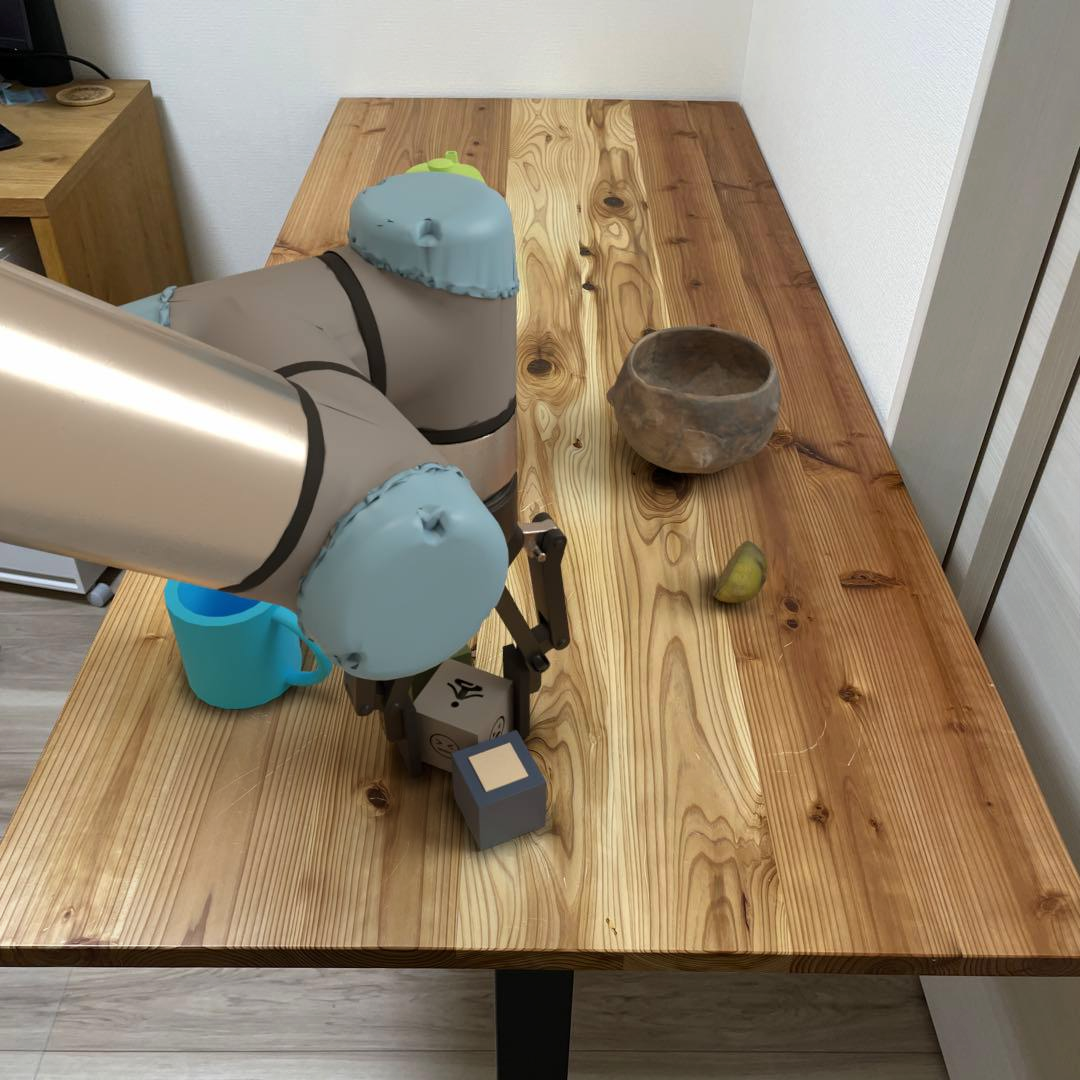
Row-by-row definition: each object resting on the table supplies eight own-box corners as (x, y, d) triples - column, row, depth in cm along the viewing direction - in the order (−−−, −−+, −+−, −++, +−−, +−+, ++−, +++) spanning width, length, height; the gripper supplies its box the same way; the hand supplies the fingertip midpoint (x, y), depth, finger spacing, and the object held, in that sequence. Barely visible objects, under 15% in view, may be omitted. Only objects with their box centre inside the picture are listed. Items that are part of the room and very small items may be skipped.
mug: (164, 686, 76) (137, 603, 71) (234, 614, 82) (215, 532, 77) (304, 743, 73) (287, 660, 67) (368, 663, 78) (357, 581, 73)
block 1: (414, 715, 75) (409, 670, 72) (392, 672, 78) (387, 627, 75) (473, 695, 76) (472, 650, 73) (450, 653, 79) (447, 608, 76)
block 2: (480, 851, 66) (478, 807, 63) (453, 796, 69) (450, 751, 66) (545, 825, 68) (547, 781, 65) (516, 773, 71) (516, 728, 68)
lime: (717, 619, 82) (726, 571, 79) (697, 577, 86) (704, 530, 83) (772, 611, 83) (782, 563, 80) (750, 570, 87) (759, 522, 83)
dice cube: (514, 730, 74) (513, 681, 70) (480, 784, 70) (478, 735, 67) (450, 706, 75) (446, 657, 72) (414, 757, 72) (408, 708, 68)
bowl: (580, 440, 100) (585, 346, 94) (708, 393, 107) (720, 303, 100) (672, 519, 91) (684, 422, 85) (805, 464, 98) (825, 369, 91)
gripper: (582, 394, 64) (571, 660, 78) (247, 478, 57) (305, 750, 72) (644, 462, 58) (620, 733, 73) (284, 563, 52) (338, 837, 67)
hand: (464, 741), depth 73 cm, fingers closed on dice cube, 7 cm apart
